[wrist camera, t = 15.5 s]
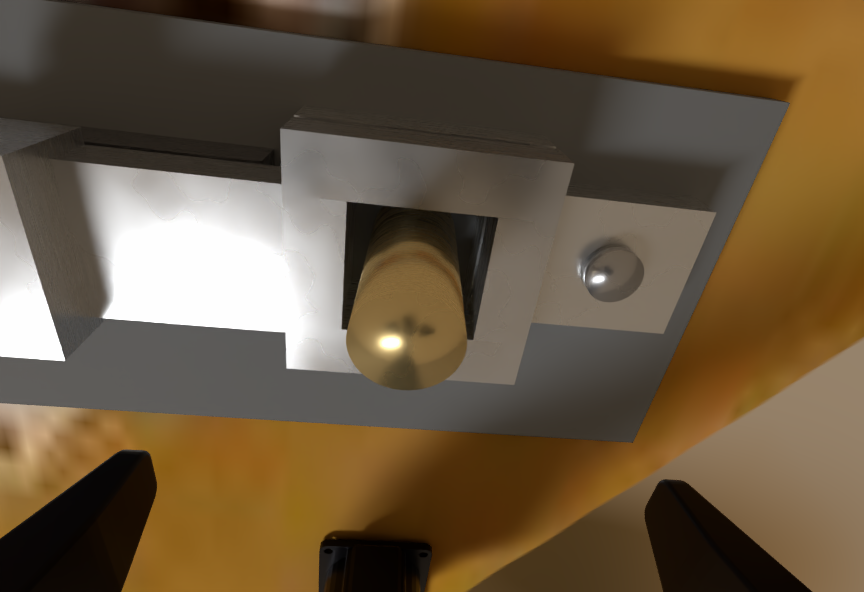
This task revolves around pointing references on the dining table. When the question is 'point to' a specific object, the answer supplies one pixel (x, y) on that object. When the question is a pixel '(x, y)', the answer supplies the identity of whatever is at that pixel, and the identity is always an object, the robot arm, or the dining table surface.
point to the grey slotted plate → (574, 239)
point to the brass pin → (409, 302)
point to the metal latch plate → (258, 236)
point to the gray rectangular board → (369, 208)
